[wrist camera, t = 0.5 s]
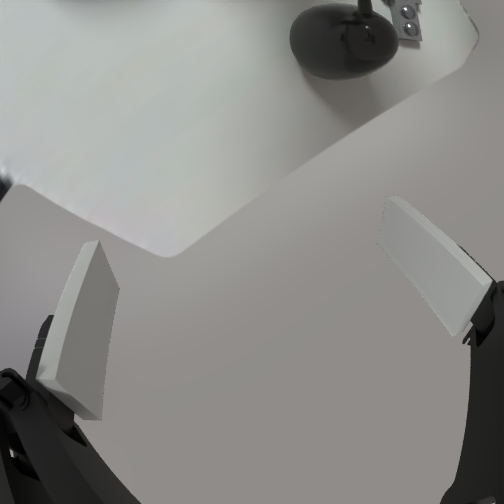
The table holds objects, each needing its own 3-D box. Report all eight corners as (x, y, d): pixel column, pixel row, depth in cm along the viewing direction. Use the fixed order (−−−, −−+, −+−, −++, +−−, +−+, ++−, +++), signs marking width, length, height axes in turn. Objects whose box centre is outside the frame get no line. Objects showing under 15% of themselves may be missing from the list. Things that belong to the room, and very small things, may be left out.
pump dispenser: (338, 6, 25) (410, -12, 13) (358, 71, 31) (434, 82, 19) (268, 17, 25) (318, -15, 13) (294, 86, 32) (354, 97, 20)
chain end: (369, -37, 20) (378, -40, 18) (406, -28, 20) (415, -30, 18) (388, 37, 28) (397, 37, 26) (422, 41, 28) (431, 42, 27)
